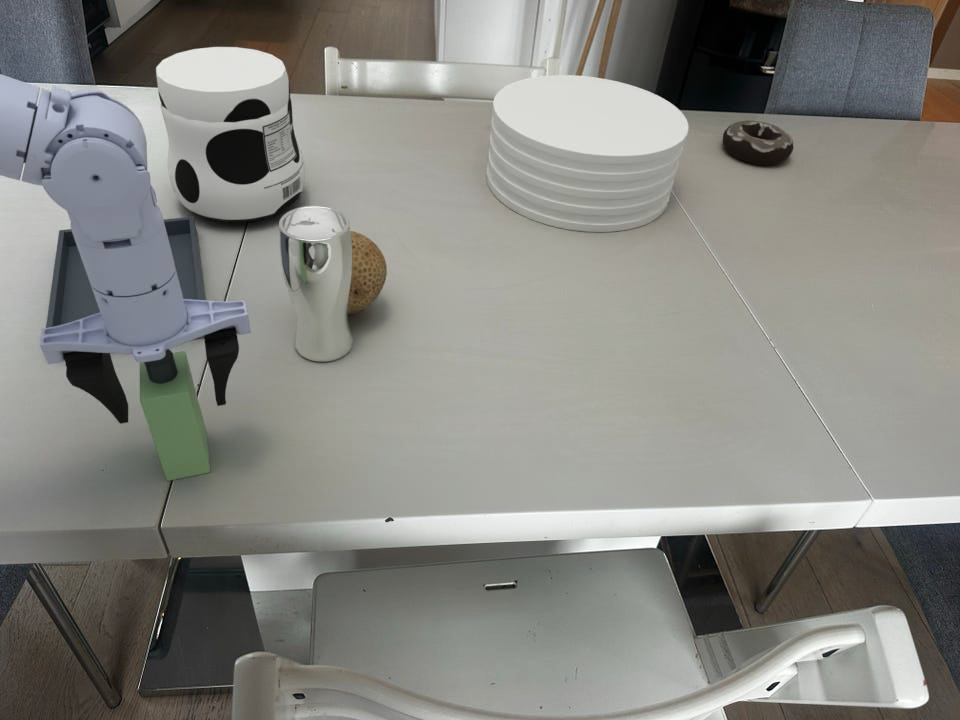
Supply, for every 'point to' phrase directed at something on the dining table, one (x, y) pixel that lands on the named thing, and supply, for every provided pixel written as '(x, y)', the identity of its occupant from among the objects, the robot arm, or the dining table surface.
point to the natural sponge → (365, 273)
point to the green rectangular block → (174, 415)
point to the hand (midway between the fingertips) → (173, 406)
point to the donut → (757, 142)
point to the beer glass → (318, 279)
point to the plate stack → (584, 152)
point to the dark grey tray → (74, 287)
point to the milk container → (230, 133)
